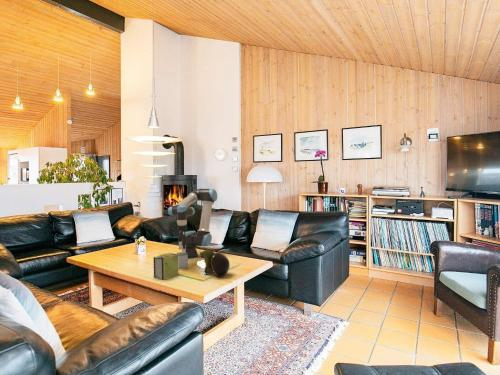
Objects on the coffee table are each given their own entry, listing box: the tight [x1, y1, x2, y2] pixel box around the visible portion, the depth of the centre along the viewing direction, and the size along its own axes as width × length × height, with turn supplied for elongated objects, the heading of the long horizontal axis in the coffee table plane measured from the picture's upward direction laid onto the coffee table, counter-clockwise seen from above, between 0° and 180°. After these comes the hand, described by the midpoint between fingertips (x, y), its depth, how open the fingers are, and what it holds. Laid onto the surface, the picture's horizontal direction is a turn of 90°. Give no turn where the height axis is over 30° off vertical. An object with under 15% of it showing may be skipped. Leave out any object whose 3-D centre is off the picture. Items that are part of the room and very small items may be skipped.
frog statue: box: [199, 249, 231, 278], centre depth 234 cm, size 19×16×25 cm
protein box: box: [153, 252, 179, 281], centre depth 231 cm, size 10×15×16 cm
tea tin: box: [176, 251, 189, 271], centre depth 250 cm, size 7×7×12 cm
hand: (182, 251), depth 250 cm, fingers open, 13 cm apart
